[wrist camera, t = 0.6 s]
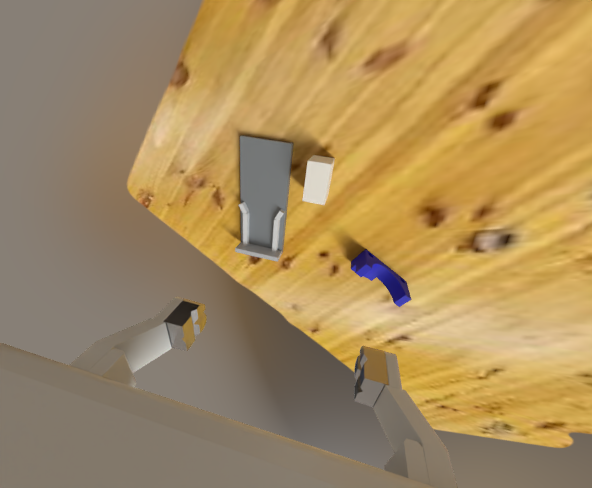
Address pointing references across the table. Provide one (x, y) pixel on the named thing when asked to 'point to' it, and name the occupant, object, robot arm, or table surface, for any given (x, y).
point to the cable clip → (381, 276)
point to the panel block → (318, 179)
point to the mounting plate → (264, 195)
